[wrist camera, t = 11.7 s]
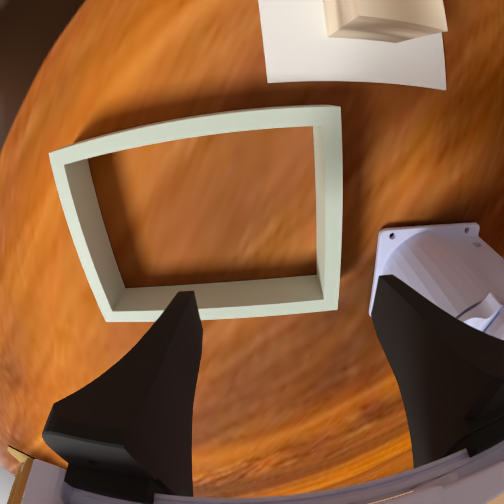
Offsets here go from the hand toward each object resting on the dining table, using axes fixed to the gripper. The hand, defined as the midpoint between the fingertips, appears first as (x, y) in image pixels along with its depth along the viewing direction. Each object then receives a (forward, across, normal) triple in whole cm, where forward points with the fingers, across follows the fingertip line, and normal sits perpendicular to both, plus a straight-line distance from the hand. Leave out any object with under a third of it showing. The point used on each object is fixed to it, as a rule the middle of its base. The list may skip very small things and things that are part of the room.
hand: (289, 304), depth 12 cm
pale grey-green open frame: (+10, +4, 0) cm, 11 cm away
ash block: (+9, -6, -13) cm, 17 cm away
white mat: (+10, -6, -13) cm, 18 cm away
